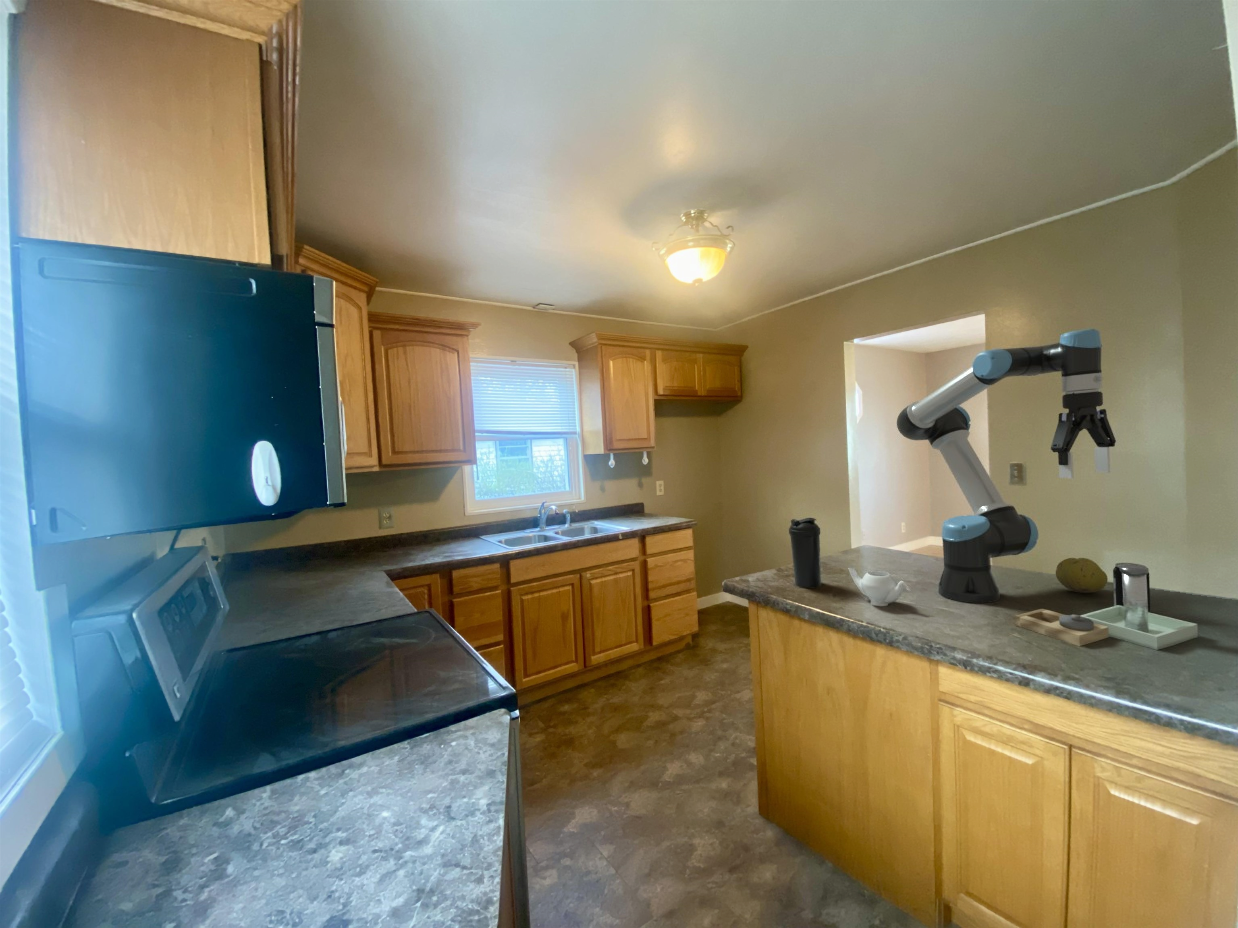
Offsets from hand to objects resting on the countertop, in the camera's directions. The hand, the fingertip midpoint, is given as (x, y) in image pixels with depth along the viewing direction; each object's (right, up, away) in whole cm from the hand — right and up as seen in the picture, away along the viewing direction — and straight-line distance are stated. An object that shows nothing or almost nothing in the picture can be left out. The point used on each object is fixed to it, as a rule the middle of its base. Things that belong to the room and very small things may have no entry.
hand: (1084, 475), depth 127 cm
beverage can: (+15, -36, +2) cm, 39 cm away
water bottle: (-54, -39, +46) cm, 81 cm away
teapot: (-41, -39, +22) cm, 61 cm away
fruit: (+15, -35, +17) cm, 42 cm away
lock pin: (+4, -37, -9) cm, 38 cm away
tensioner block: (-11, -38, -5) cm, 40 cm away
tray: (+4, -37, -9) cm, 38 cm away
